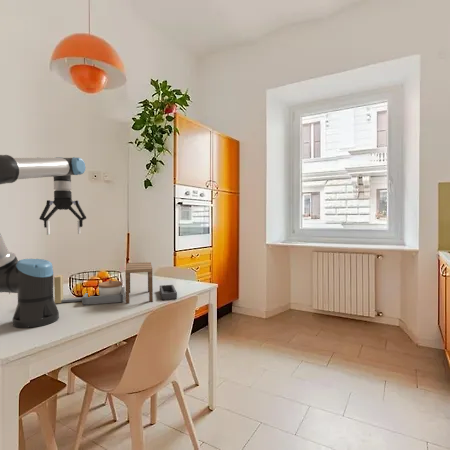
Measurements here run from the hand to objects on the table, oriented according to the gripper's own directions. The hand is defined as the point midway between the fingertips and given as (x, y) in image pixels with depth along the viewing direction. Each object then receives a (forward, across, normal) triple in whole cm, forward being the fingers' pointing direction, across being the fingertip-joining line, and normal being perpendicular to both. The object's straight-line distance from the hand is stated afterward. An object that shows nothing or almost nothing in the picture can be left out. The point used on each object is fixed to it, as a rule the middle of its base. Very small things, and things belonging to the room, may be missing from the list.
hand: (64, 234), depth 151 cm
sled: (+31, -13, +8) cm, 34 cm away
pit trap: (+31, -49, +8) cm, 59 cm away
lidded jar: (+31, -22, +8) cm, 39 cm away
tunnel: (+31, -35, +8) cm, 48 cm away
